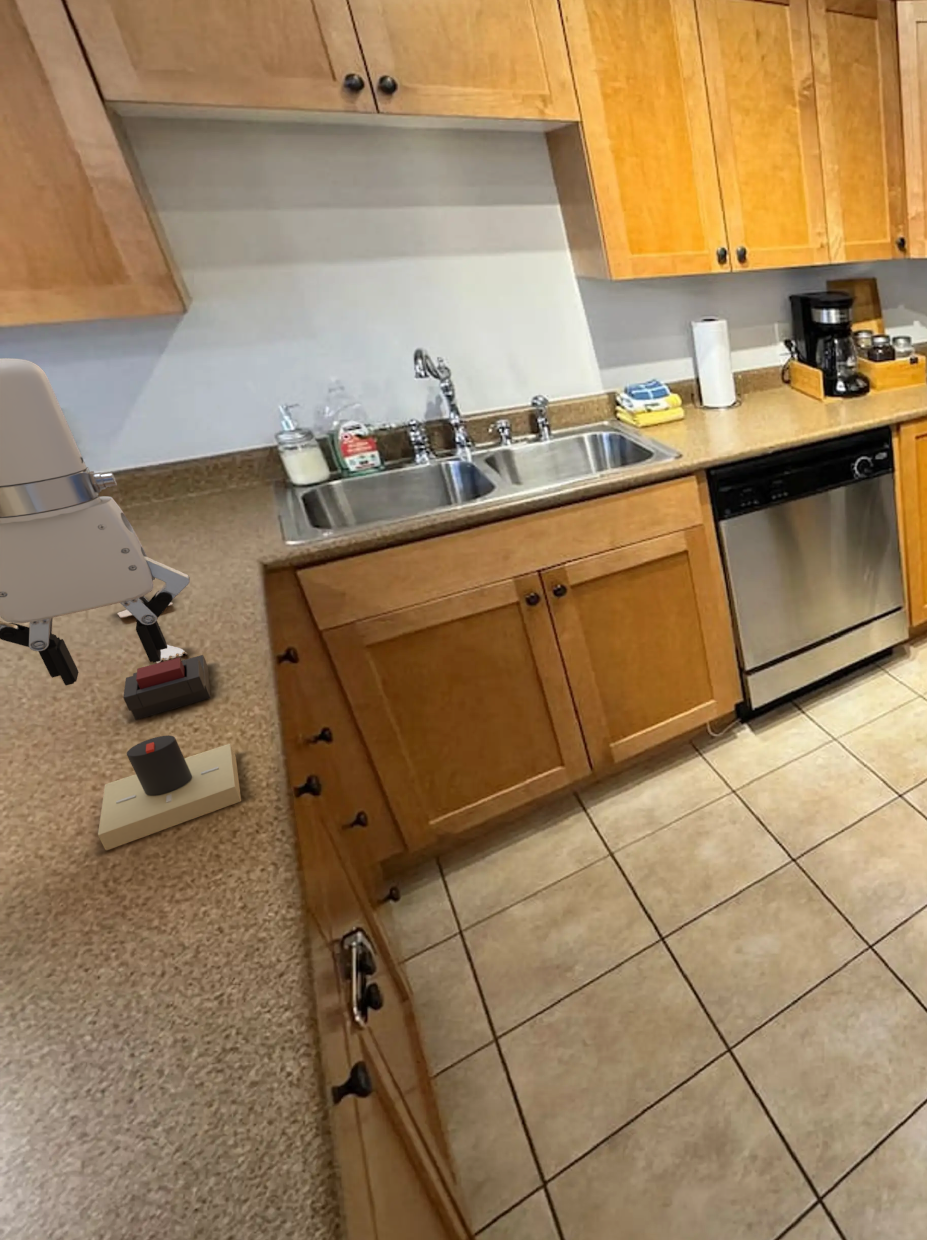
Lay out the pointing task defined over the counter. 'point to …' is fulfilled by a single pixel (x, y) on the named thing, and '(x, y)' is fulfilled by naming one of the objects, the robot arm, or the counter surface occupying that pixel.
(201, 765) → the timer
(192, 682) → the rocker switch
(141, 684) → the red rectangular block
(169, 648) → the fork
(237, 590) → the counter surface
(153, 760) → the timer knob
